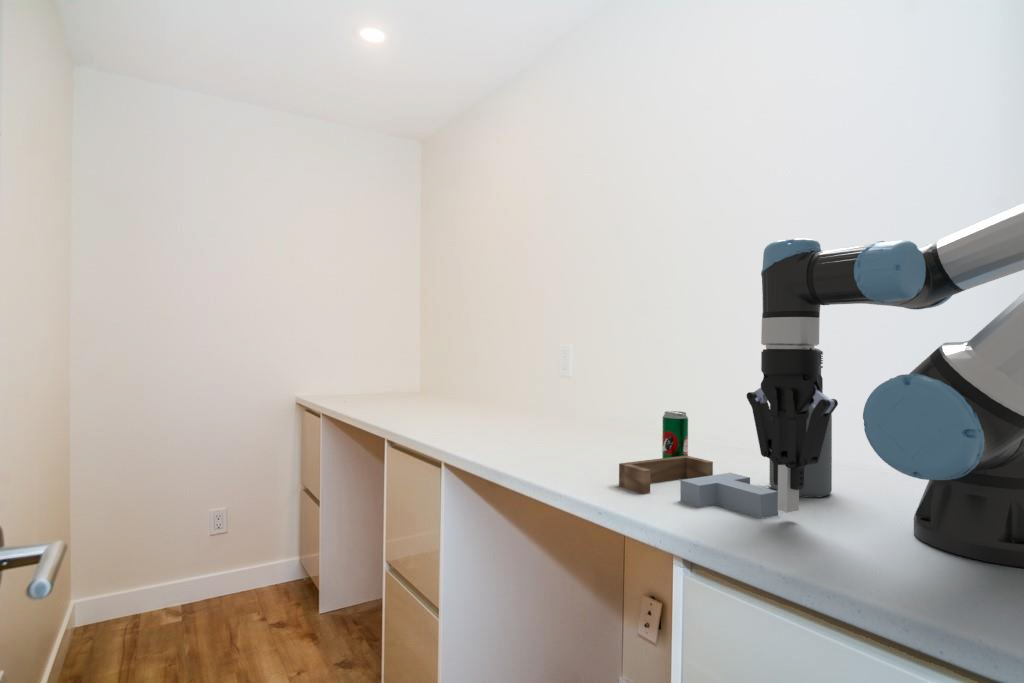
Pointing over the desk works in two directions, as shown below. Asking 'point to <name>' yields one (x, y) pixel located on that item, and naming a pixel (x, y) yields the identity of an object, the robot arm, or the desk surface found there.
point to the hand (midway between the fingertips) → (788, 509)
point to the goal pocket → (661, 471)
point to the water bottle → (820, 473)
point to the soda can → (675, 434)
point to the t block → (730, 494)
